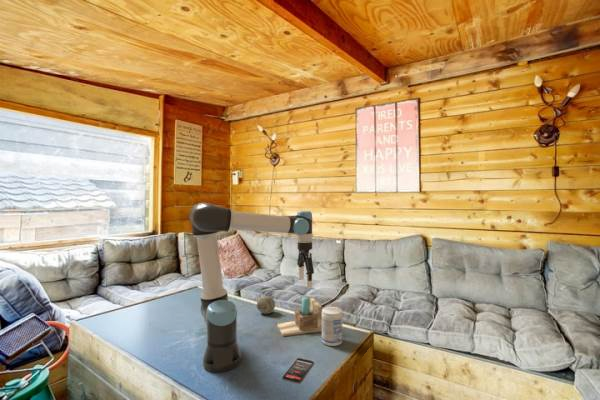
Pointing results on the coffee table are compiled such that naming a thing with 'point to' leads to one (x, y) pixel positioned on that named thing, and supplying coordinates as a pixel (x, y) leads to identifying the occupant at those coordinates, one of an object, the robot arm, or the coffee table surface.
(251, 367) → the coffee table surface
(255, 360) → the coffee table surface
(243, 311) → the coffee table surface
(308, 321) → the block
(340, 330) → the supplement tub
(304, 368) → the smartphone
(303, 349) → the coffee table surface
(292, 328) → the jig
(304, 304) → the dowel
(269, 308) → the decorative stone
